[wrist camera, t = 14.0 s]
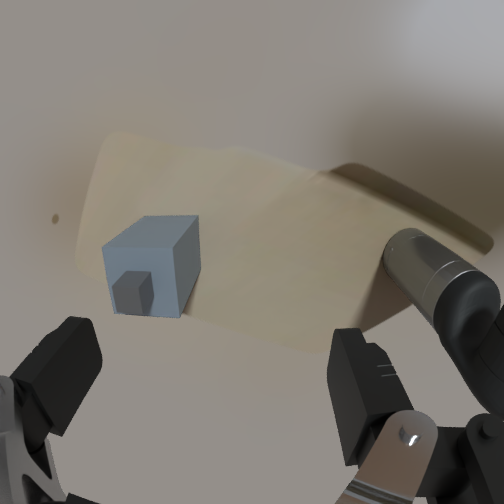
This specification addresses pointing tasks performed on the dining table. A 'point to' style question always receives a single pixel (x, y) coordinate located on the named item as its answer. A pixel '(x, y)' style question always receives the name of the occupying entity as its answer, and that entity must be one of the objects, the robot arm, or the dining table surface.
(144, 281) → the cover
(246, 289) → the dining table surface
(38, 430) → the robot arm
